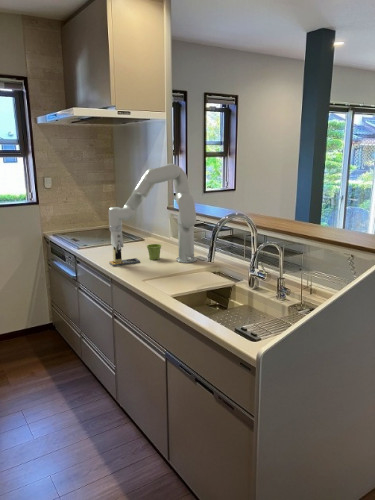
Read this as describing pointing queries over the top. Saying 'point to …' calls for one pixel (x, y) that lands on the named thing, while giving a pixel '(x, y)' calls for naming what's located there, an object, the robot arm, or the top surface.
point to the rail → (125, 262)
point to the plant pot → (154, 251)
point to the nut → (115, 257)
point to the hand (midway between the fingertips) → (117, 257)
